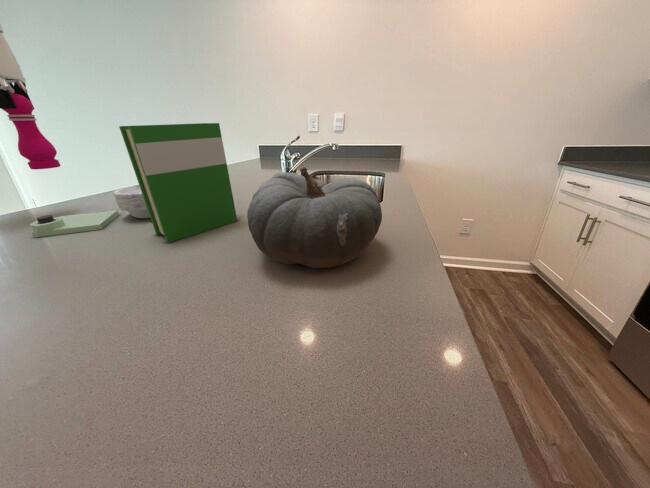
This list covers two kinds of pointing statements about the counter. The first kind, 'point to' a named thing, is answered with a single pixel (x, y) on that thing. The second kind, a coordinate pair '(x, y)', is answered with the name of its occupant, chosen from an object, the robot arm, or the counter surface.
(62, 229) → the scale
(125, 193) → the paper bowls
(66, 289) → the counter surface
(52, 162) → the pepper mill
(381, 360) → the counter surface
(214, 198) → the hardback book
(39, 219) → the button
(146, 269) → the counter surface
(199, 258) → the counter surface
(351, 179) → the gourd
